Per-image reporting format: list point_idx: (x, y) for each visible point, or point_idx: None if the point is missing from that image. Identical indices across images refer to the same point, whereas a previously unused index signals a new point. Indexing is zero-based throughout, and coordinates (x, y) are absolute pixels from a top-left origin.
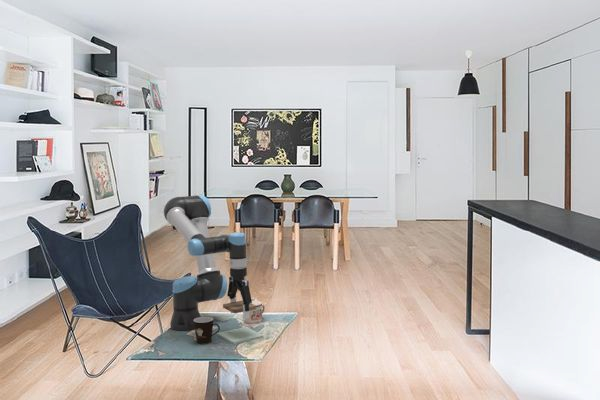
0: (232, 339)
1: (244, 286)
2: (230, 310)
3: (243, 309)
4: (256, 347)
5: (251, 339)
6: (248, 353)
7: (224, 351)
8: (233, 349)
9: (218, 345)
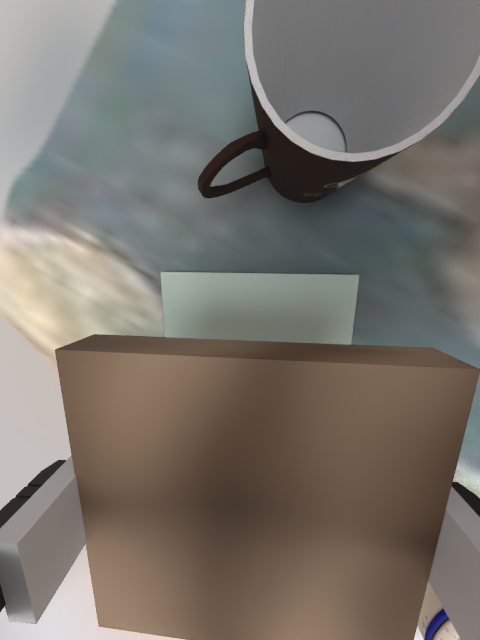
0: (203, 287)
1: None
2: (198, 342)
3: (70, 464)
4: (72, 332)
5: None
6: (17, 263)
7: (97, 178)
8: (101, 232)
9: (199, 197)
